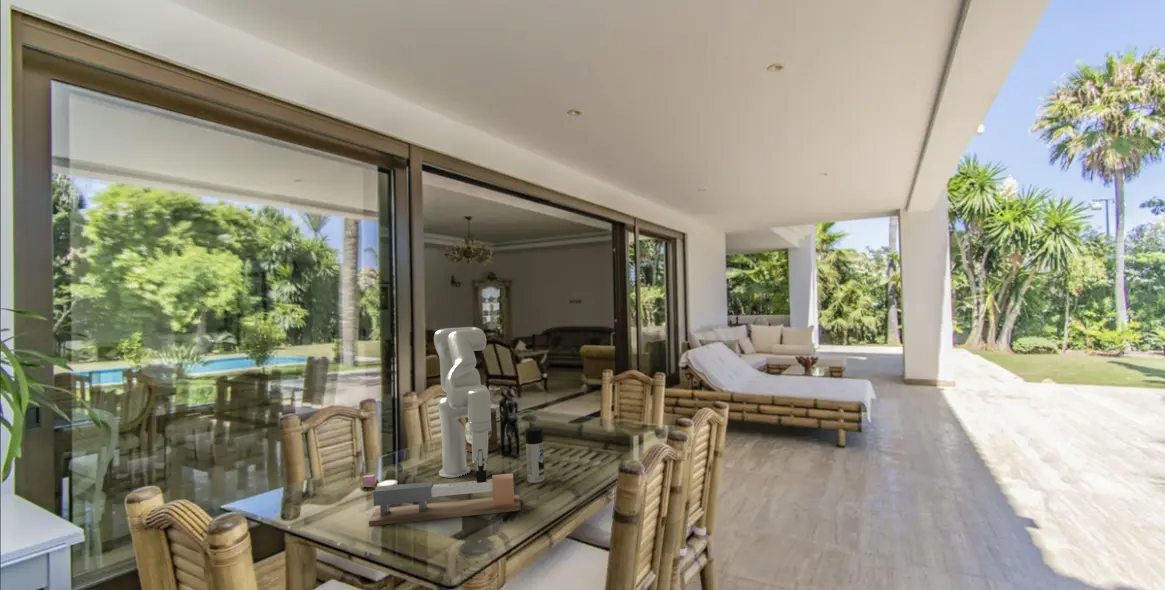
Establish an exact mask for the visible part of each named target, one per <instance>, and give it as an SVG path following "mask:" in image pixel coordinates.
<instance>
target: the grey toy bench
mask: <svg viewBox="0 0 1165 590" xmlns="http://www.w3.org/2000/svg"><path fill="white" fill-rule="evenodd" d="M432 485H433V481H424V482H413V483H412V482H411V483H401V484H397V485H390V486H379V487H376V488H375V490H374V489H373V491H372V500H373V501H372V502H373V503H372V505H373V507H376V506H377V507H378V506H379V507H380V511H381V516H387V515H388V513H389V511H390V507H391V505H389V504H392V505H398V504H399V505H400V504H408V503H409V504H411V503H418V505H419V513H420V512H426V509H427V504H428V502H429V501H432V498H433V497H431V486H432Z"/></svg>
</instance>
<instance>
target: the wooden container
mask: <svg viewBox="0 0 1165 590" xmlns="http://www.w3.org/2000/svg"><path fill="white" fill-rule="evenodd" d="M464 420H465V426H464V428H465V440H466V450H468V451H471V452H472V432H469V424H468V417H465V418H464ZM497 425H498V424H497V410H496V408H493V407H491V430H490V431H488V453H490V452H489V451H491V452H493V450H494V451H495V450H497V449H498V447H499V446H498V444H499V443H498V426H497Z"/></svg>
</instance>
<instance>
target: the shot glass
mask: <svg viewBox="0 0 1165 590" xmlns="http://www.w3.org/2000/svg"><path fill="white" fill-rule="evenodd" d="M390 485H398V480H396V479H386V480H381V481H379V483H378V484H377V487H379V486H390ZM389 505H390V506H392V505H393V504H389Z"/></svg>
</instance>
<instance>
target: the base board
mask: <svg viewBox="0 0 1165 590" xmlns="http://www.w3.org/2000/svg"><path fill="white" fill-rule="evenodd" d="M521 508H522V507H521V498H520V494H514V504H505V505H495V506H493V496H492V497H482V498H481V497H480V498H471V499H463V500H451V501H440V502H431V503H427V509H426V512H420V513H419V504H412V505H402V506H401V505H400V506H392V507H391V506H390V511H389V513H388V515H387V516H381V511H380V508H375V510H374V512H373V514H372V515H371V517H370V518H369V520H368V527H373V526H381V525H392V524H402V523H412V522H420V521H421V522H422V521H432V520H441V519H450V518H460V517H470V516H479V515H488V514H498V513H499V514H500V513H507V512H518V511H519V510H520V511H521V510H522V509H521ZM520 511H519V512H520Z"/></svg>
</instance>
